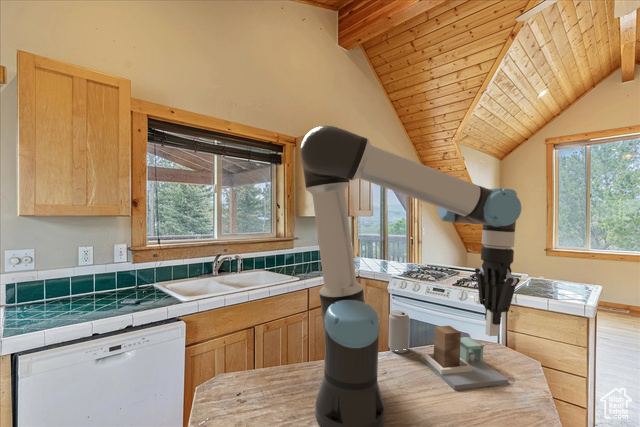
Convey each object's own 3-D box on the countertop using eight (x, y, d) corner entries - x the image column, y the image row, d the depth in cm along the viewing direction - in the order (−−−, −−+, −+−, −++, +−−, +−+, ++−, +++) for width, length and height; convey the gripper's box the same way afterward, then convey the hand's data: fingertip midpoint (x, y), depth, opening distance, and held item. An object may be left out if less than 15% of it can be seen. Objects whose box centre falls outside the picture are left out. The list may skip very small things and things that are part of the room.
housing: (466, 363, 87) (466, 346, 87) (452, 353, 93) (453, 338, 93) (482, 361, 89) (483, 345, 88) (468, 352, 94) (469, 336, 94)
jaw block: (443, 369, 84) (445, 333, 84) (433, 360, 89) (434, 326, 89) (459, 367, 85) (460, 332, 85) (448, 358, 90) (449, 325, 90)
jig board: (453, 390, 76) (453, 377, 76) (420, 359, 92) (420, 348, 92) (508, 383, 80) (508, 371, 80) (467, 355, 95) (467, 344, 95)
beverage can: (409, 355, 94) (410, 317, 94) (388, 352, 96) (389, 315, 96) (407, 346, 101) (408, 310, 101) (387, 344, 102) (388, 308, 102)
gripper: (530, 250, 75) (524, 345, 75) (491, 244, 88) (485, 325, 88) (505, 250, 73) (498, 346, 74) (468, 243, 86) (463, 325, 87)
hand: (491, 334), depth 81 cm, fingers closed
